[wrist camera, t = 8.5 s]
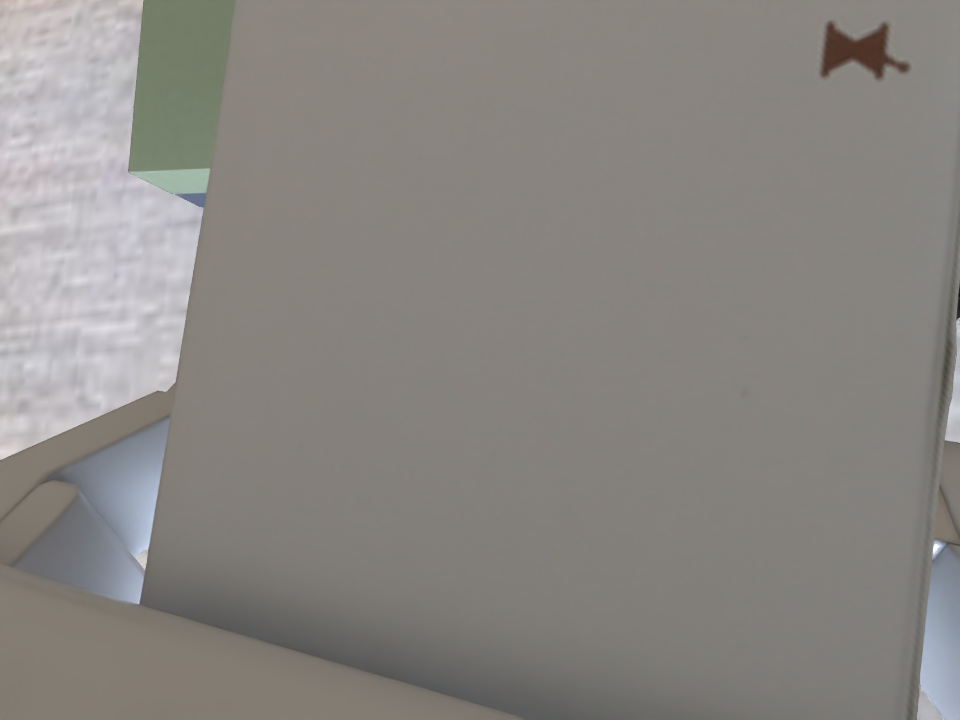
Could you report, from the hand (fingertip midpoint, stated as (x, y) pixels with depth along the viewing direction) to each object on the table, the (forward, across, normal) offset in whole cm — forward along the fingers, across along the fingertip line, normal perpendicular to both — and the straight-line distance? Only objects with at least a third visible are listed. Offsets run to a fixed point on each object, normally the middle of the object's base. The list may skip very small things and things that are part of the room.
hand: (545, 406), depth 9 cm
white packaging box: (+7, 0, +6) cm, 9 cm away
